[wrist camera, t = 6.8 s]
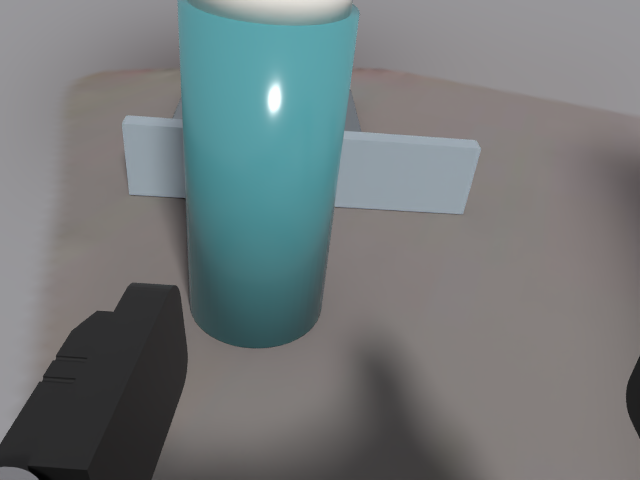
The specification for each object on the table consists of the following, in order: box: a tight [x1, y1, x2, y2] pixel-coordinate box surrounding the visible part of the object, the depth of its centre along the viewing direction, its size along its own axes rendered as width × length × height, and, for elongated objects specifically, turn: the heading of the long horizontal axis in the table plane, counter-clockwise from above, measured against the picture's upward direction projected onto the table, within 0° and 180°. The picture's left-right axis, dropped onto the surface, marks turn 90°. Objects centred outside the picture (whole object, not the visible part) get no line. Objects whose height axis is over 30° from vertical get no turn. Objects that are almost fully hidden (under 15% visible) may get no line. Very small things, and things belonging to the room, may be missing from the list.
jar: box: [178, 0, 359, 348], centre depth 21 cm, size 6×6×13 cm
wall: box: [122, 115, 481, 214], centre depth 30 cm, size 18×1×4 cm, turn 93°
